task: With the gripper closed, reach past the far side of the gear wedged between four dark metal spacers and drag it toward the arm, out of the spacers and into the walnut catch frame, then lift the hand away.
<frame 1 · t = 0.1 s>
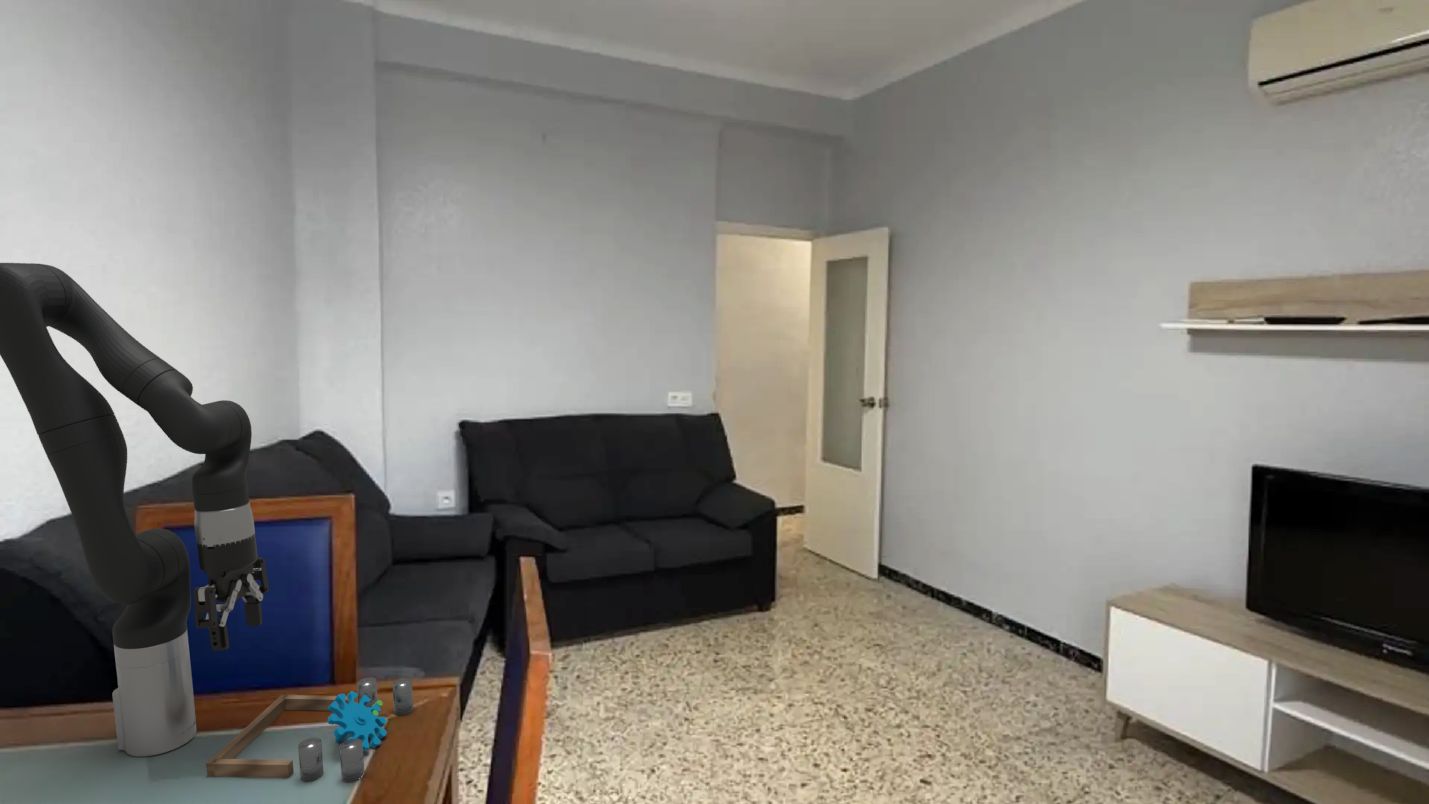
hand: (238, 637, 121), 17 cm above the table, tool pointing down, fingers open, 8 cm apart
catch frame: (285, 739, 124), on the table
gear: (361, 742, 124), on the table
spacers: (361, 740, 124), on the table
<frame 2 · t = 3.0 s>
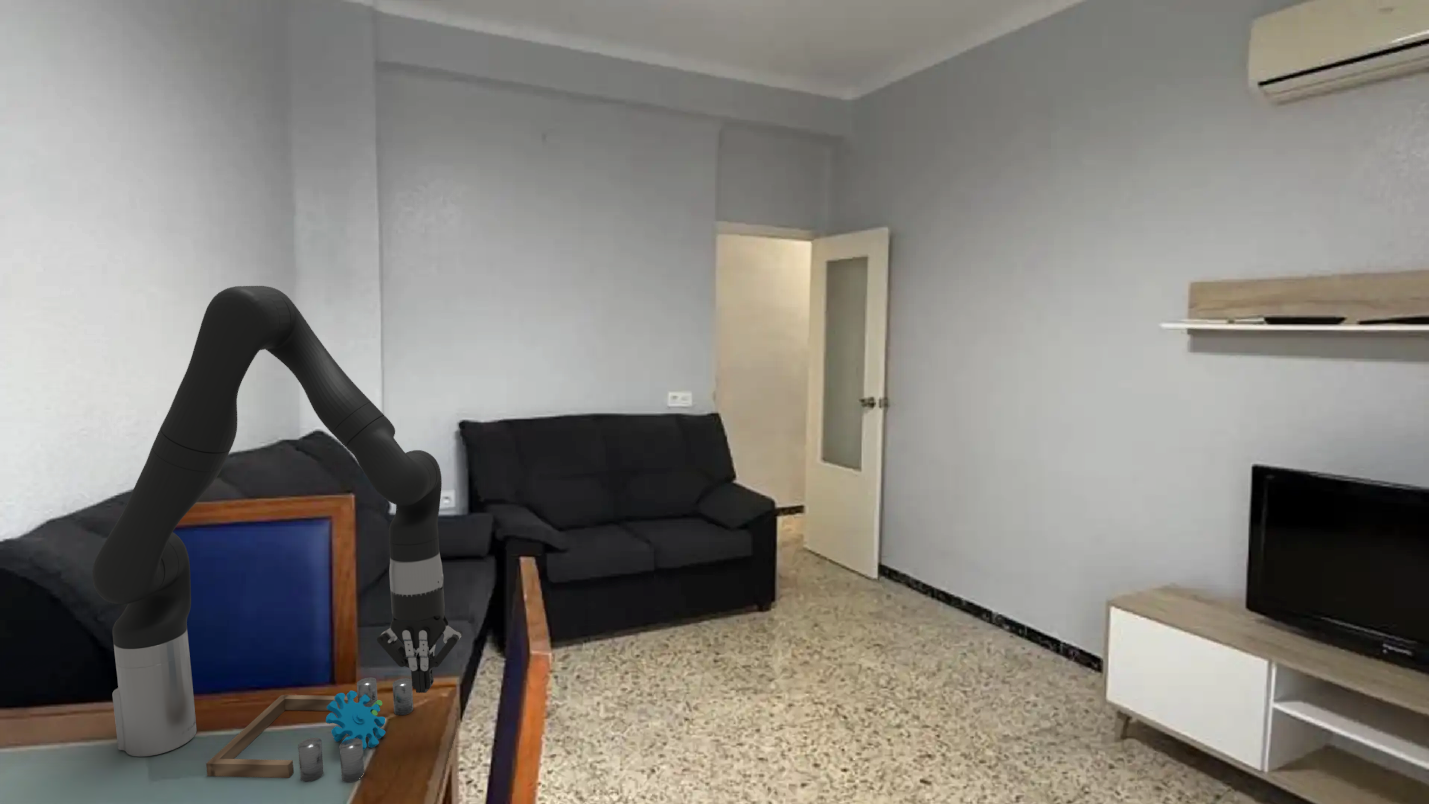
hand: (423, 690, 123), 9 cm above the table, tool pointing down, fingers closed
nothing on the table moved.
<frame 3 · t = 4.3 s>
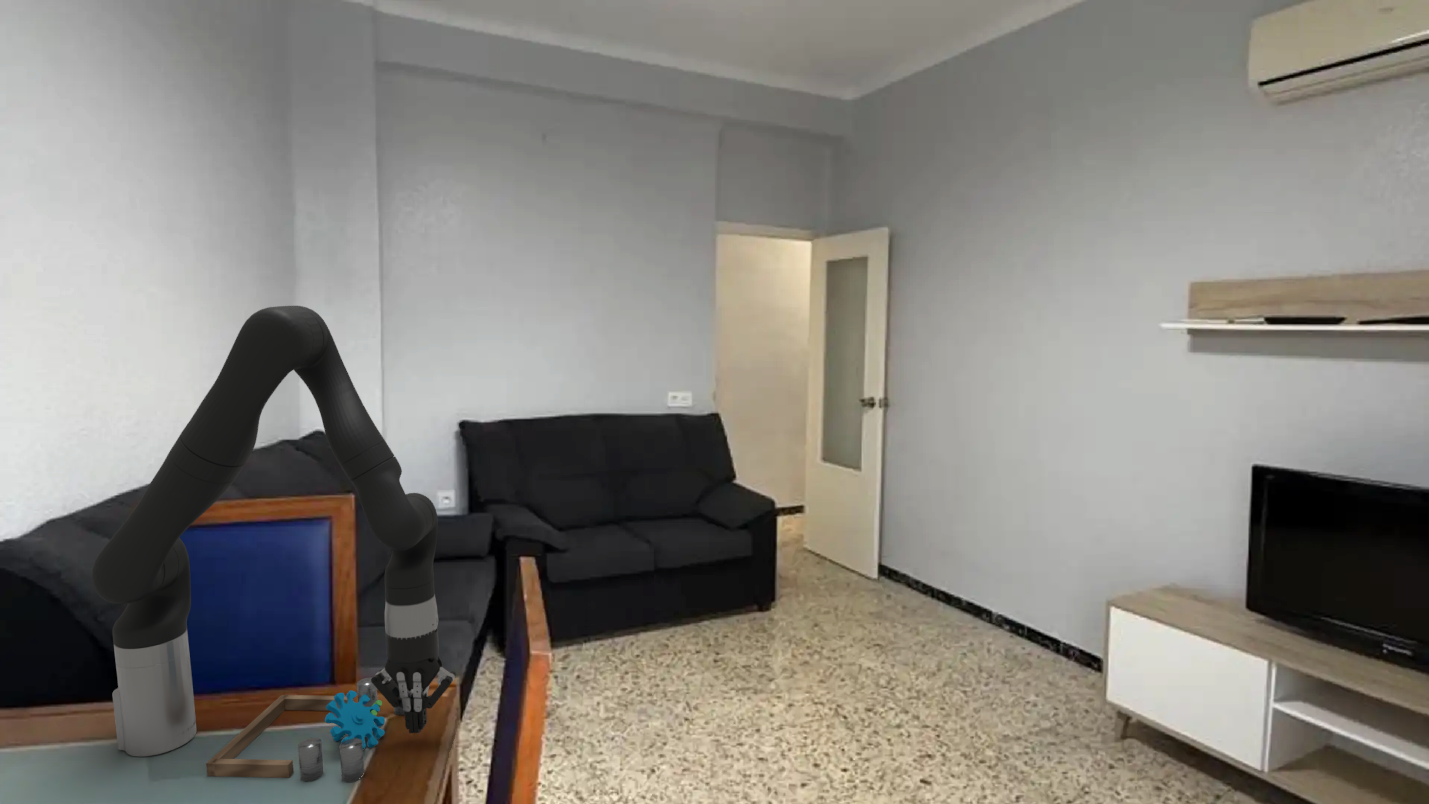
hand: (416, 730, 124), 2 cm above the table, tool pointing down, fingers closed
nothing on the table moved.
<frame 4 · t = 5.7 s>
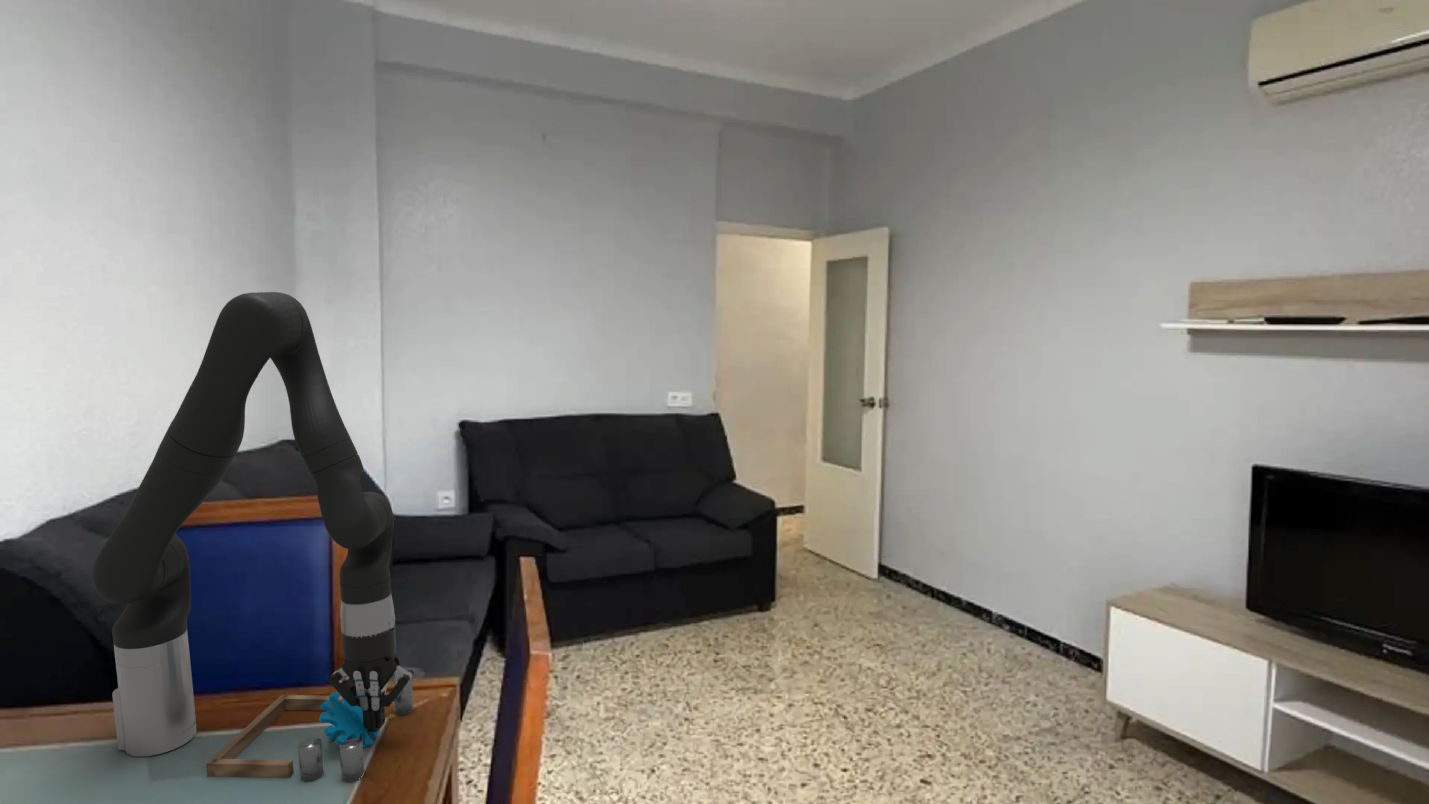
hand: (375, 729, 124), 2 cm above the table, tool pointing down, fingers closed
gear: (353, 741, 125), on the table, touching gripper
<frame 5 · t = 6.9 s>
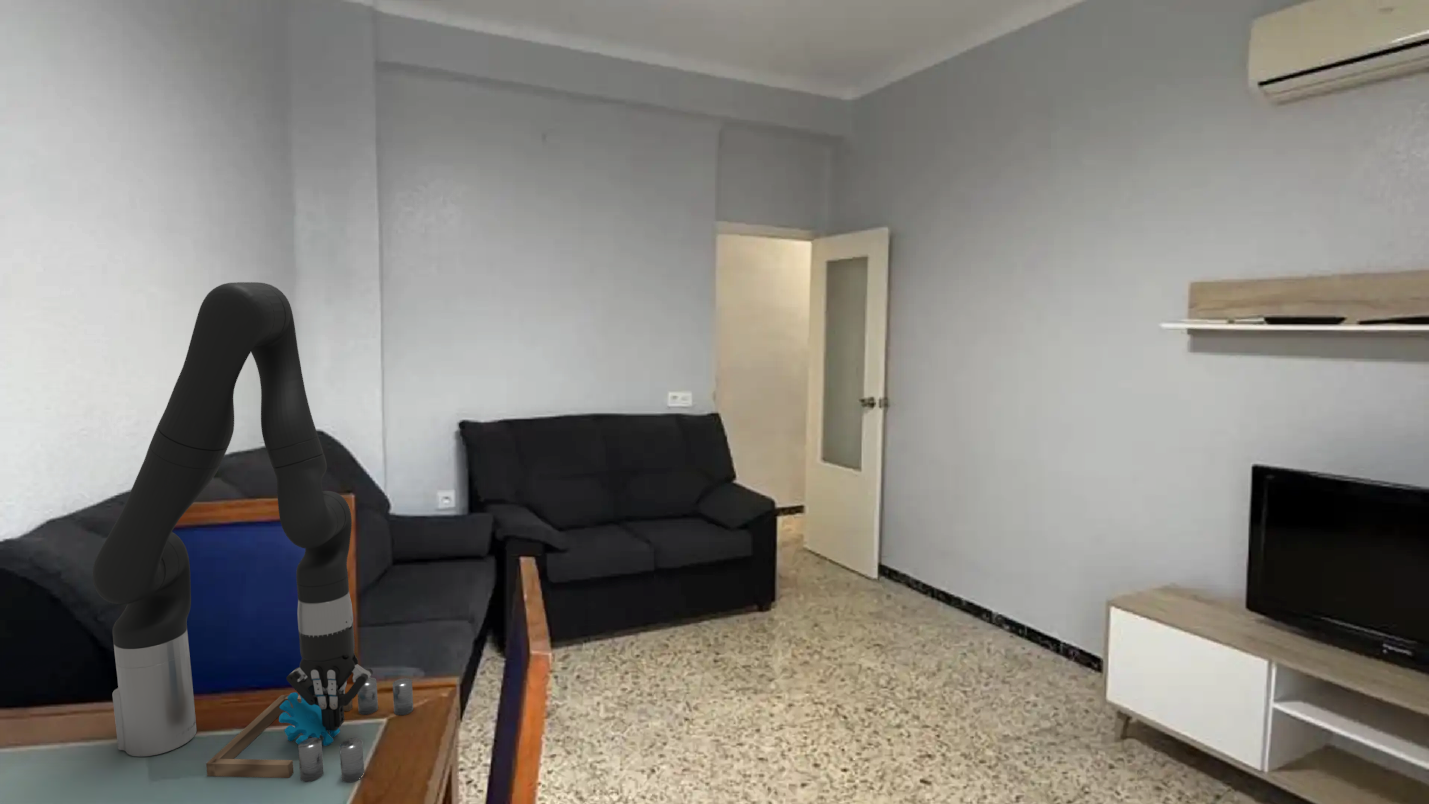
hand: (334, 727, 124), 2 cm above the table, tool pointing down, fingers closed
gear: (313, 740, 125), on the table, touching gripper
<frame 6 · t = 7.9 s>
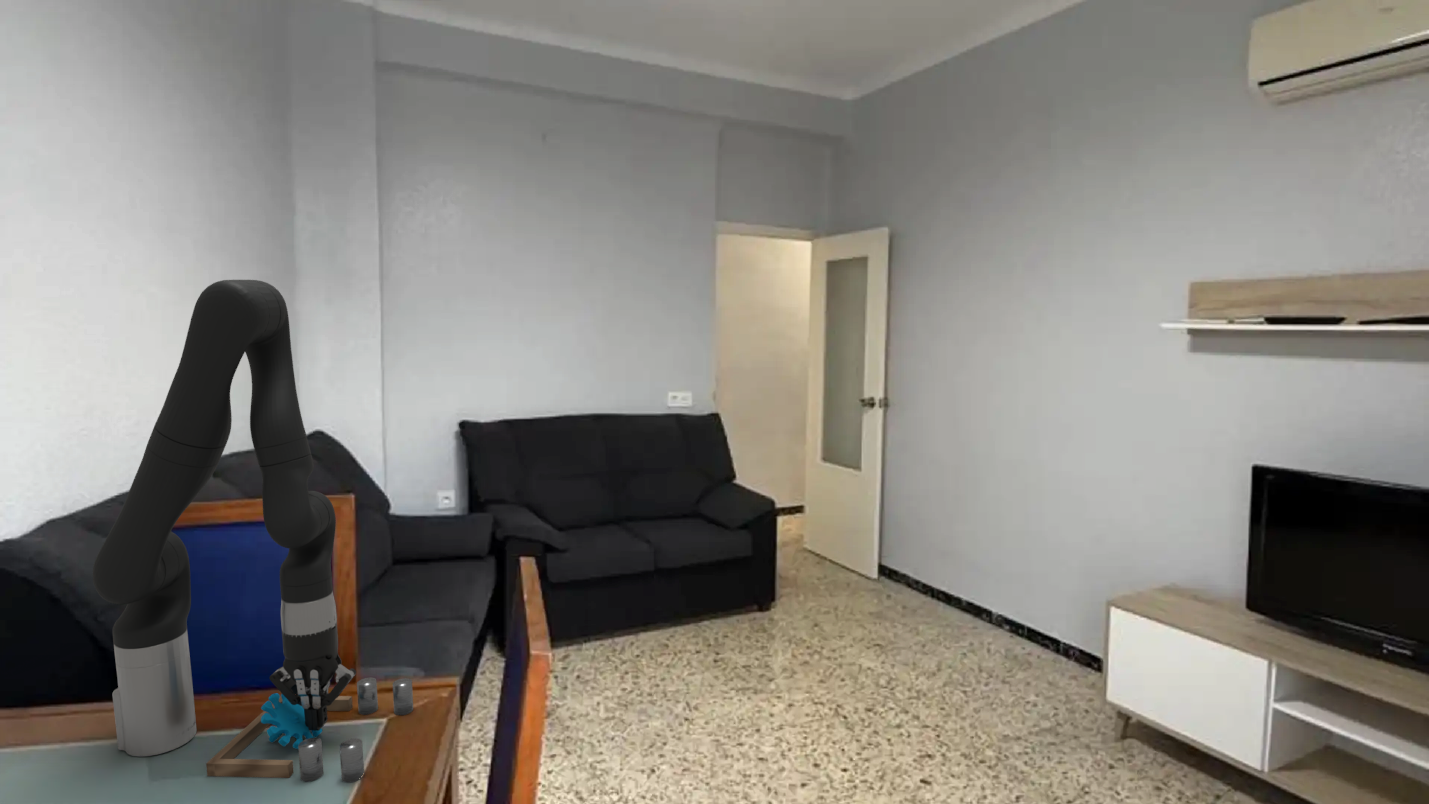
hand: (317, 727, 124), 2 cm above the table, tool pointing down, fingers closed
gear: (295, 741, 124), on the table
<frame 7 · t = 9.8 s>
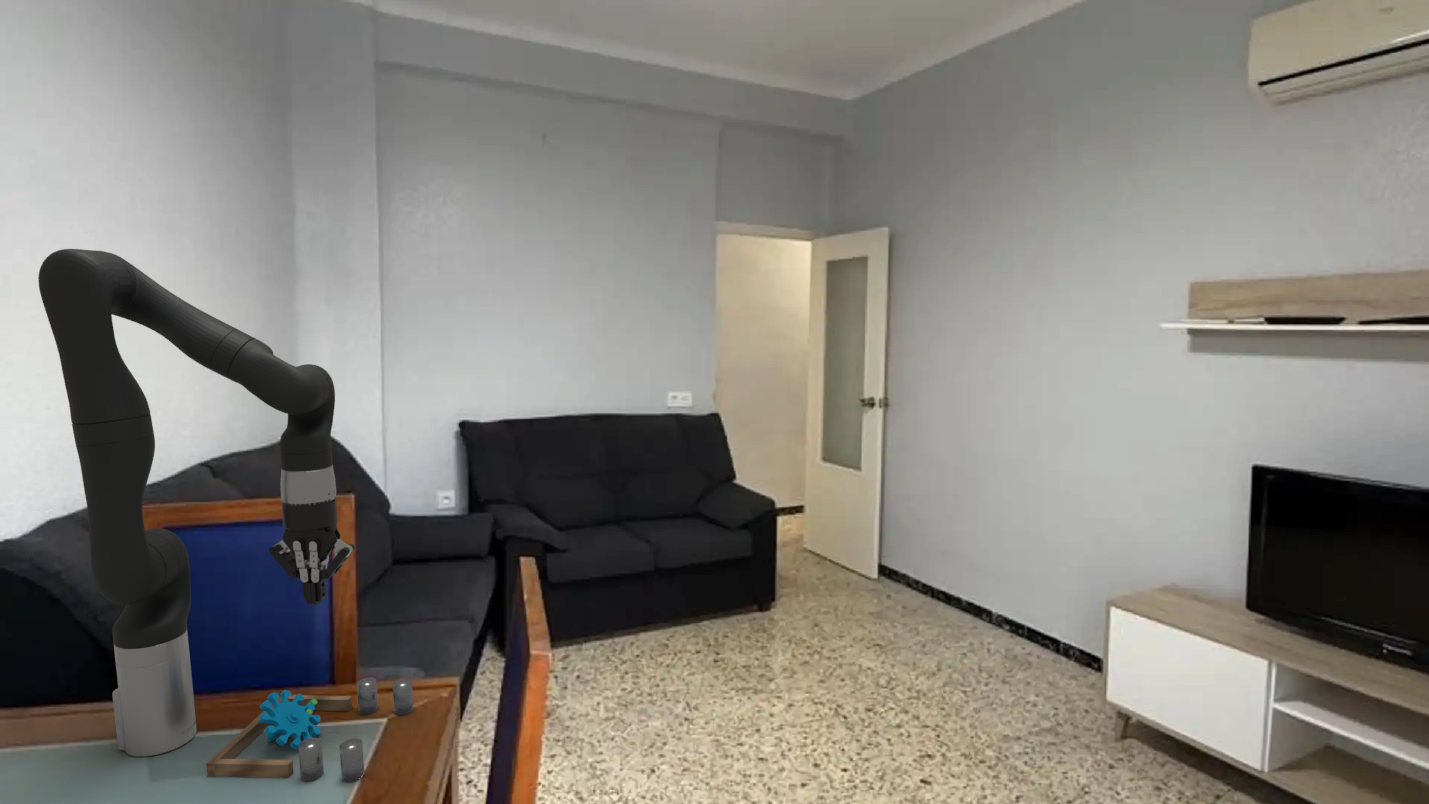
hand: (315, 602, 124), 21 cm above the table, tool pointing down, fingers closed
nothing on the table moved.
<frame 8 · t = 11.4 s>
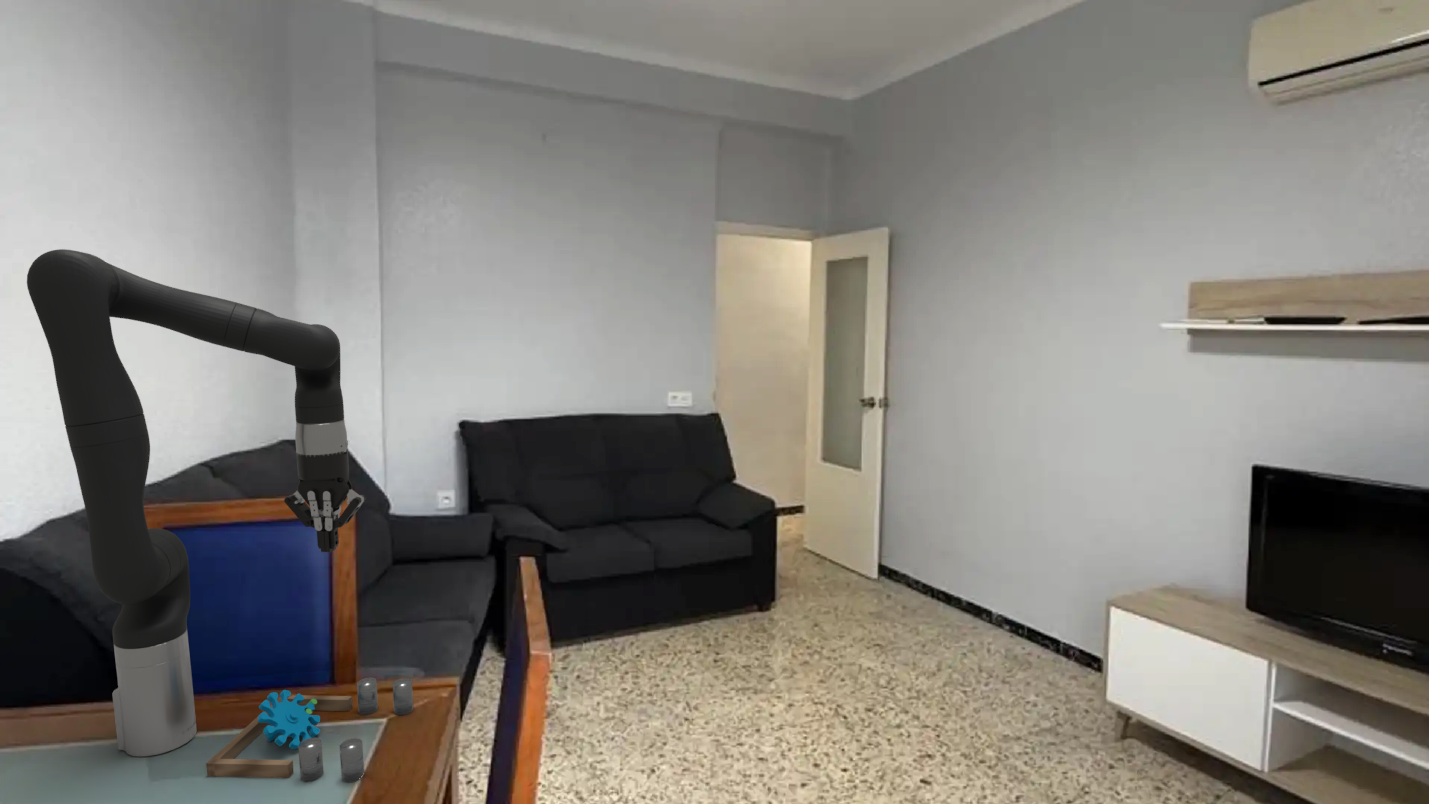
hand: (328, 550, 131), 27 cm above the table, tool pointing down, fingers closed
nothing on the table moved.
at the end: gear inside the target area (0.6 cm from its centre), on the table; gear moved 10.8 cm from its start; the gripper is holding nothing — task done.
